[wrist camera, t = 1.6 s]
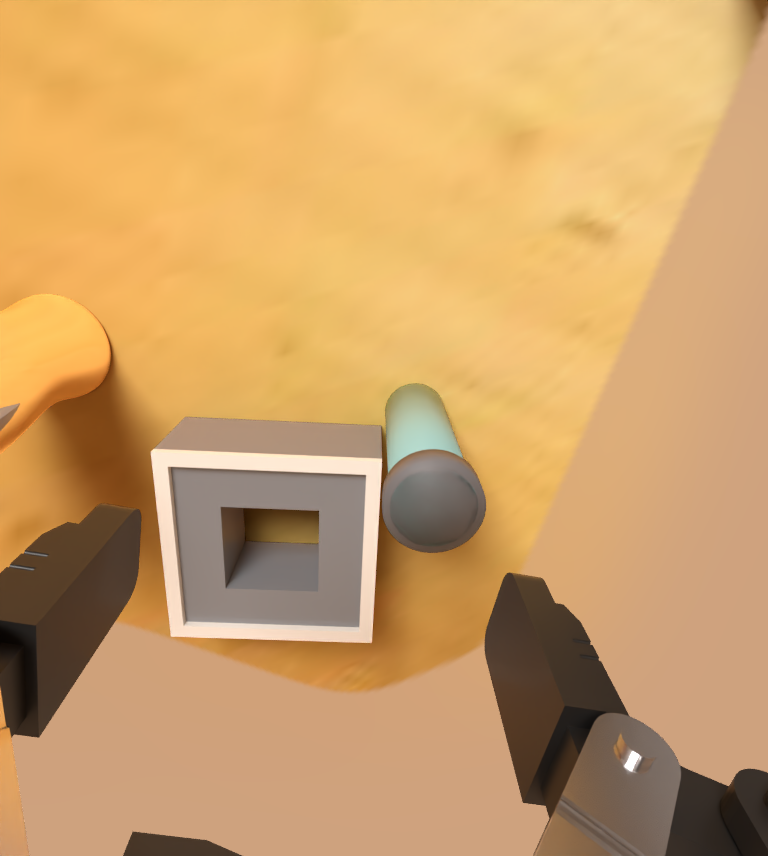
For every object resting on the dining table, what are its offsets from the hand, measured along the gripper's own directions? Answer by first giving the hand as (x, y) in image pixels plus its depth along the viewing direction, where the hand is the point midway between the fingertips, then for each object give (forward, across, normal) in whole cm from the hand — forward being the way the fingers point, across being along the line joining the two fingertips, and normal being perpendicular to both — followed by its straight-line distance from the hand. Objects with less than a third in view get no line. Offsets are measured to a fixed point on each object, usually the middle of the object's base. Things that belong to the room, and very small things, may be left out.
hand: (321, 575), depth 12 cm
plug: (+21, -4, +3) cm, 22 cm away
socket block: (+21, +3, +11) cm, 24 cm away
